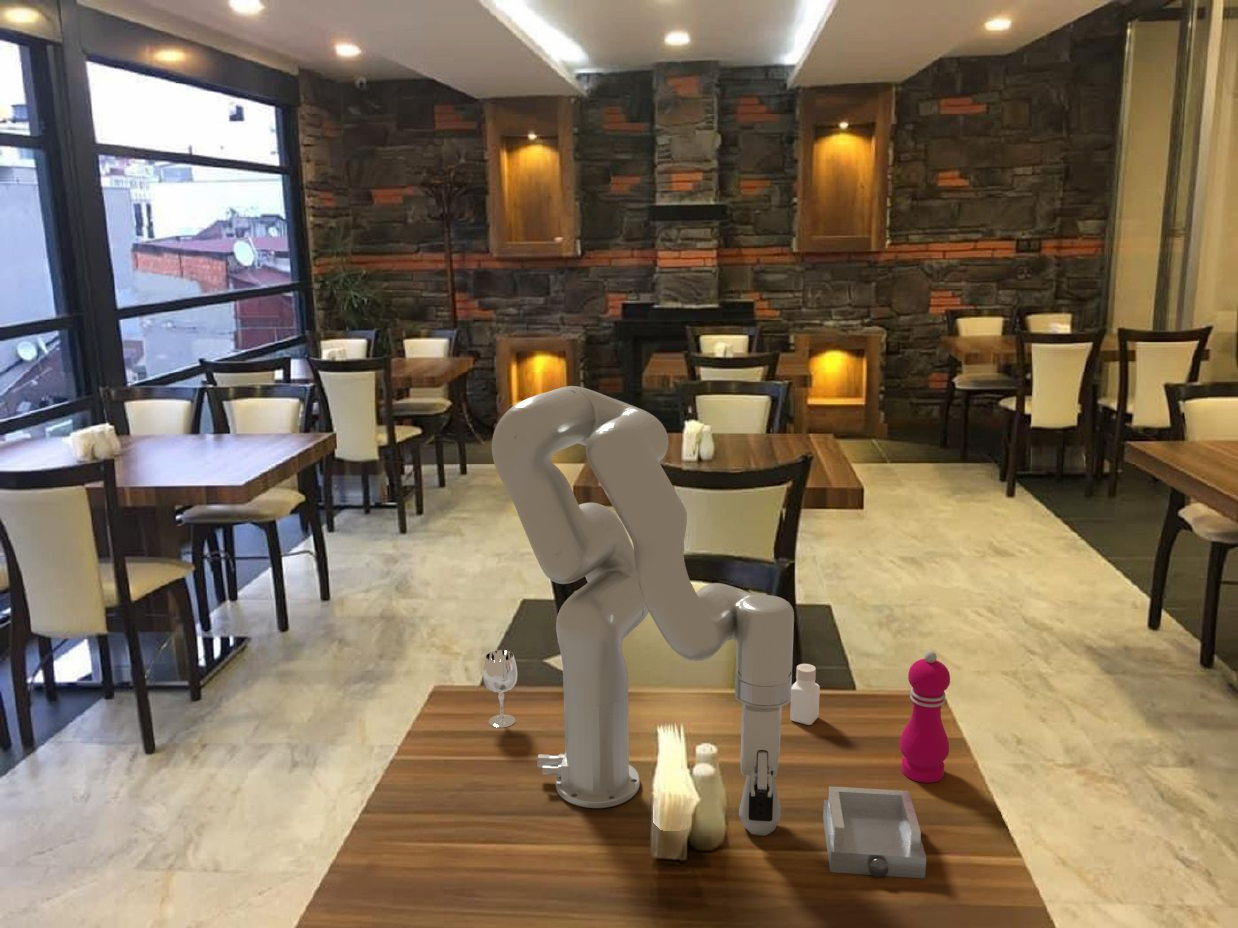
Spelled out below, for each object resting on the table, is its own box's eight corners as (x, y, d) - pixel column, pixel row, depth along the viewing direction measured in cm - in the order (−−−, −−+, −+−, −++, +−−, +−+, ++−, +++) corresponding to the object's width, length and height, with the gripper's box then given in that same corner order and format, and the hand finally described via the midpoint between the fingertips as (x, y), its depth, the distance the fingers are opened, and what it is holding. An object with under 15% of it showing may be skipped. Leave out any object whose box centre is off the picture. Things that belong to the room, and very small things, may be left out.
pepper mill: (909, 754, 158) (917, 637, 154) (954, 770, 154) (964, 649, 149) (890, 774, 153) (897, 653, 148) (935, 790, 149) (945, 666, 144)
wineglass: (482, 715, 172) (479, 651, 169) (515, 710, 174) (512, 646, 171) (488, 731, 167) (485, 665, 164) (522, 726, 168) (519, 660, 166)
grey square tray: (830, 875, 130) (832, 838, 128) (823, 818, 142) (824, 783, 141) (926, 882, 128) (928, 844, 127) (910, 823, 141) (912, 788, 139)
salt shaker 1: (779, 841, 137) (781, 756, 134) (737, 837, 138) (738, 752, 135) (781, 817, 142) (783, 734, 139) (740, 812, 143) (742, 730, 140)
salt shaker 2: (819, 717, 171) (821, 665, 168) (811, 727, 167) (813, 674, 165) (797, 711, 173) (799, 660, 170) (788, 721, 169) (790, 669, 167)
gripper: (735, 658, 144) (733, 770, 148) (734, 716, 127) (732, 840, 131) (788, 660, 143) (784, 773, 147) (794, 719, 126) (790, 844, 131)
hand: (760, 804), depth 139 cm, fingers open, 6 cm apart
